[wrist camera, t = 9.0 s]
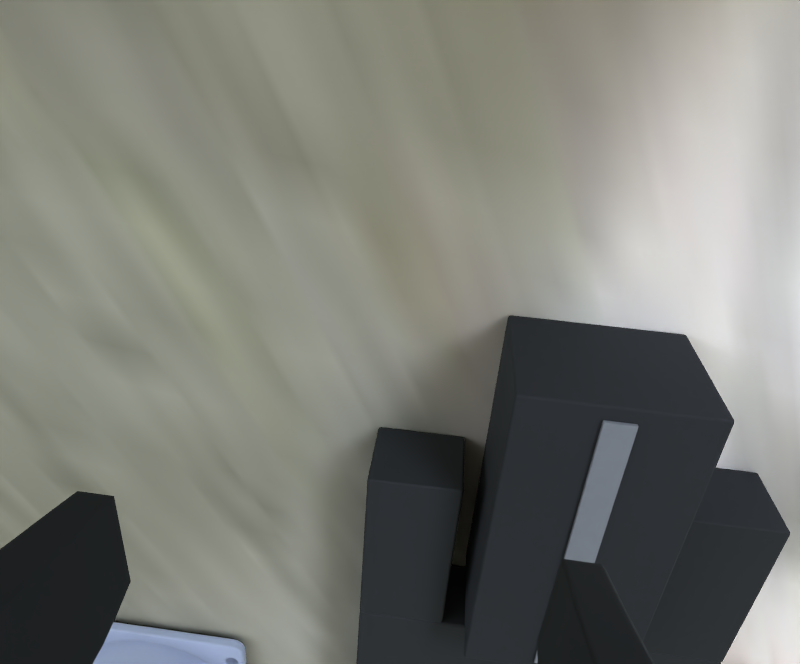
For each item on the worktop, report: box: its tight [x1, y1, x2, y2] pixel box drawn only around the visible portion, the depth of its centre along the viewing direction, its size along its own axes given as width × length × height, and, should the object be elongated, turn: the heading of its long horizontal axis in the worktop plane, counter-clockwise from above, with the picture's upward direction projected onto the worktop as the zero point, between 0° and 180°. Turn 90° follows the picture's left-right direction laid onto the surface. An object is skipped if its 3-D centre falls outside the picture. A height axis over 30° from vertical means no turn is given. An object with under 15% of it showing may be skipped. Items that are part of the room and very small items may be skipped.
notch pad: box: [357, 427, 790, 664], centre depth 23 cm, size 14×12×2 cm
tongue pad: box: [464, 316, 734, 664], centre depth 19 cm, size 10×5×4 cm, turn 176°
